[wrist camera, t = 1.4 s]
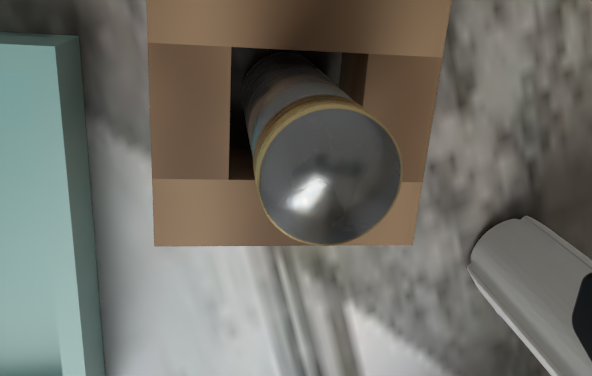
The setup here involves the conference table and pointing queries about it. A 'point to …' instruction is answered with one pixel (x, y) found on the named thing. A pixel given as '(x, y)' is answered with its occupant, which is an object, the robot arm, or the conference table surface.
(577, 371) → the photo printer
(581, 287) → the robot arm
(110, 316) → the conference table surface
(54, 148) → the tray
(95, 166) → the conference table surface
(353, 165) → the steel pin
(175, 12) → the pin block
